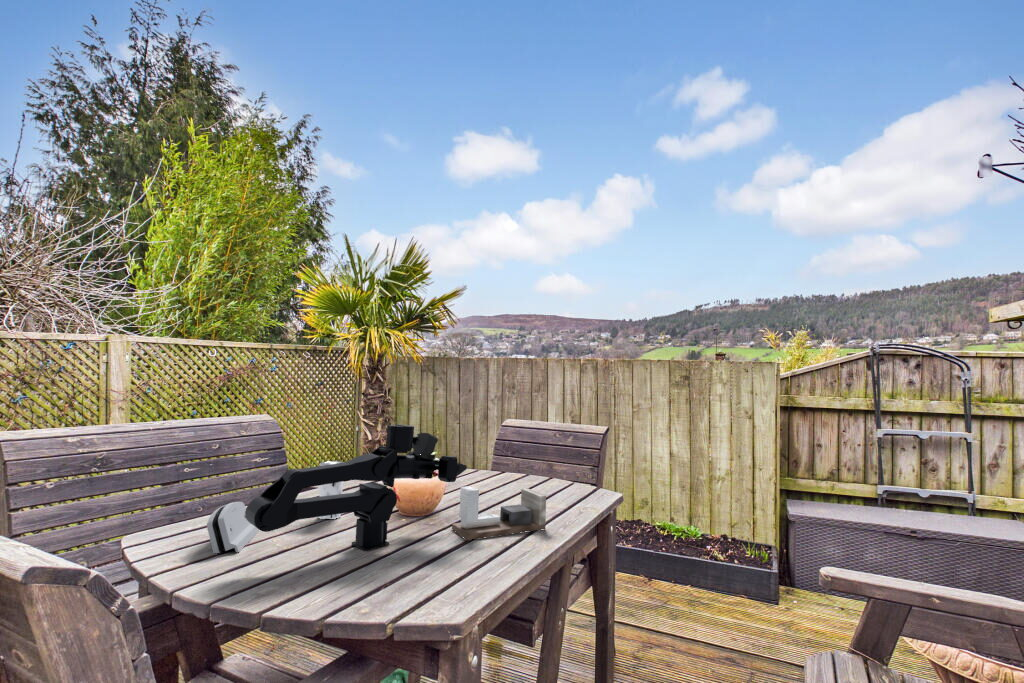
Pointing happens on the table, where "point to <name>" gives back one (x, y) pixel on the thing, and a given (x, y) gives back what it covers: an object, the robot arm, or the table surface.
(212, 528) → the grey rounded panel block
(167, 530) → the table surface
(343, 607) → the table surface
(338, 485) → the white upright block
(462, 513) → the white l-shaped block
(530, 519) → the plate
